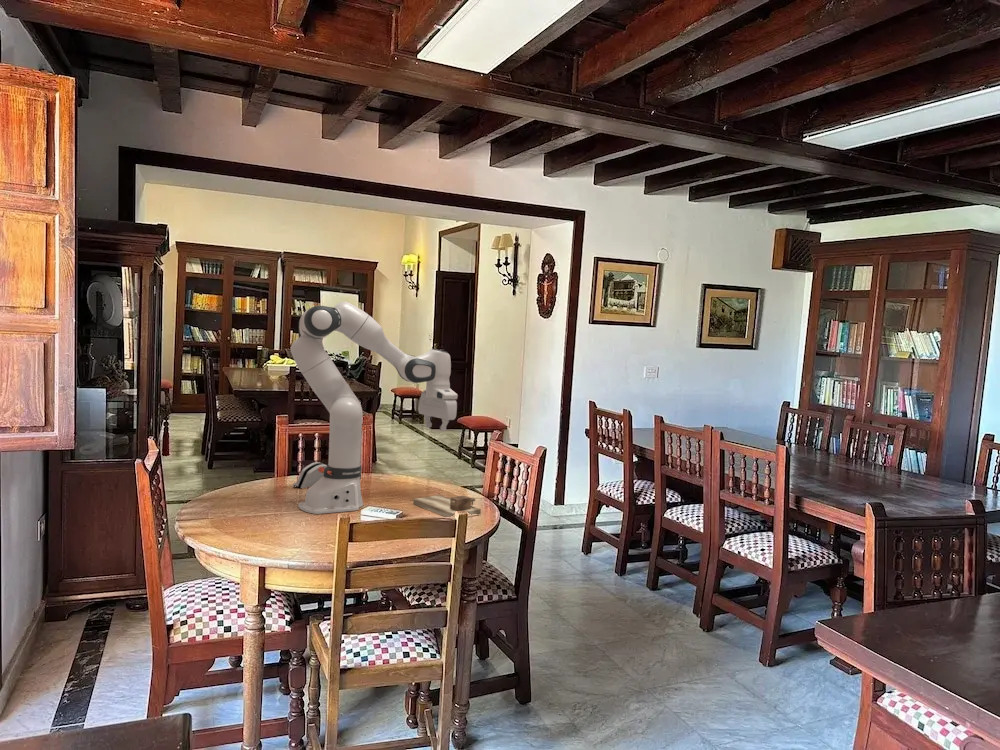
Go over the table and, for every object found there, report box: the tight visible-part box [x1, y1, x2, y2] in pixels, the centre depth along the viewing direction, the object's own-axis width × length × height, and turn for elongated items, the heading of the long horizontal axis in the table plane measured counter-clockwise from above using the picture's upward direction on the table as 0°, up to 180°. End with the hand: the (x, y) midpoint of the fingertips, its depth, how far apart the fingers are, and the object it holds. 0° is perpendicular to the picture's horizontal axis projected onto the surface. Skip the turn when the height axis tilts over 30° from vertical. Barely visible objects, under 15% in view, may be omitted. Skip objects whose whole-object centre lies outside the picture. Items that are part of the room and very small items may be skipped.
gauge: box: [450, 495, 476, 511], centre depth 237 cm, size 10×4×4 cm, turn 131°
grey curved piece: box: [291, 461, 328, 489], centre depth 270 cm, size 17×5×10 cm, turn 165°
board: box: [412, 494, 482, 518], centre depth 242 cm, size 12×24×2 cm, turn 42°
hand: (435, 428), depth 255 cm, fingers open, 8 cm apart
